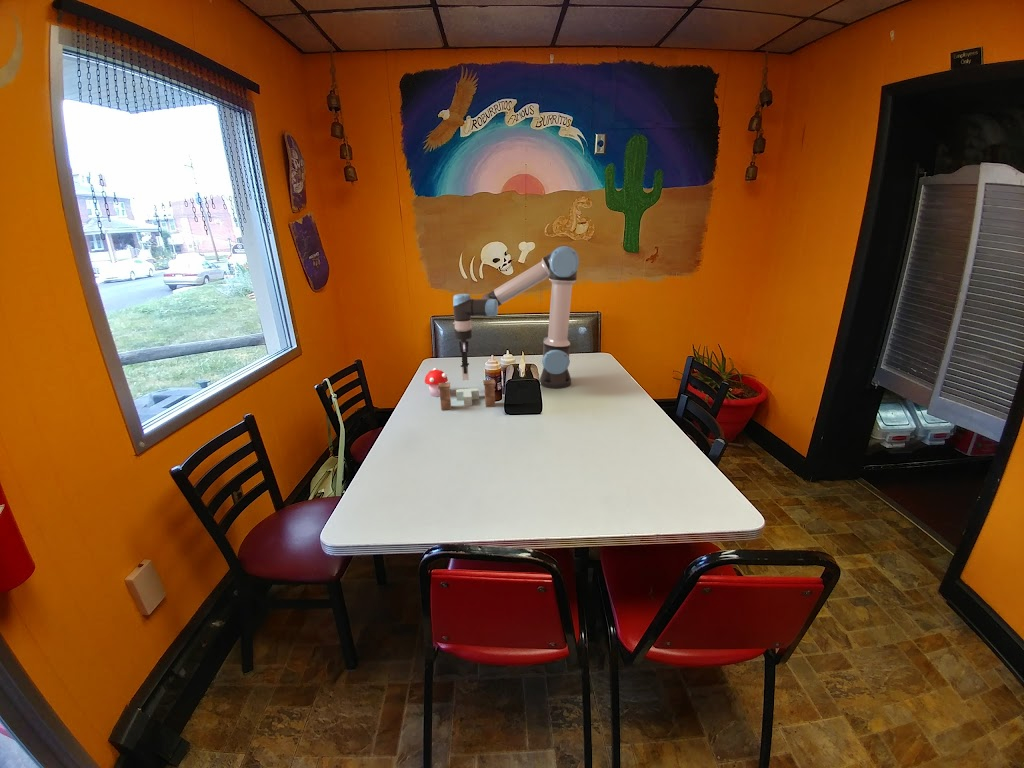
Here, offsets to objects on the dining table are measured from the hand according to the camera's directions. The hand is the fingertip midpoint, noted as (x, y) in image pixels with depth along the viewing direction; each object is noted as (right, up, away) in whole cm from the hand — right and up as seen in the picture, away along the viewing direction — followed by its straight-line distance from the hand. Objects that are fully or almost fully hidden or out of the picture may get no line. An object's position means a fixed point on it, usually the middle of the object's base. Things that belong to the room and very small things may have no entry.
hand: (465, 379), depth 206 cm
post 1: (-7, -13, -15) cm, 20 cm away
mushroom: (-13, -7, +2) cm, 15 cm away
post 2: (+12, -11, -13) cm, 21 cm away
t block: (+2, -10, -8) cm, 13 cm away
